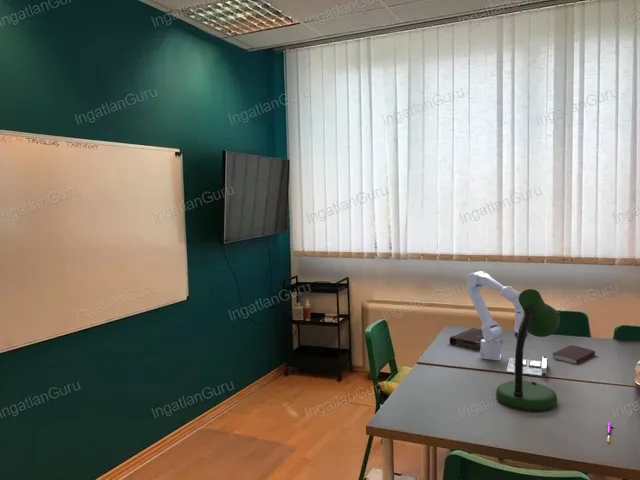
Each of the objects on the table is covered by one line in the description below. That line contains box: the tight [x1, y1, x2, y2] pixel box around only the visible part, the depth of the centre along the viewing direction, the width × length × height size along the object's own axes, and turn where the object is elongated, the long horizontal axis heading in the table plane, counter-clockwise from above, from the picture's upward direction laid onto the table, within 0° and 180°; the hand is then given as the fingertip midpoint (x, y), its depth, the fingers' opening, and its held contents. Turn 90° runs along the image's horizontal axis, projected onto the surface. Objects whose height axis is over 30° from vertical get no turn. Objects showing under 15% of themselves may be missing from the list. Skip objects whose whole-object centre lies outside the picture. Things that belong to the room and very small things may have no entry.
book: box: [551, 344, 596, 365], centre depth 256 cm, size 12×19×3 cm, turn 128°
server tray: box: [506, 357, 548, 378], centre depth 243 cm, size 17×20×2 cm
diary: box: [449, 327, 484, 351], centre depth 284 cm, size 19×25×5 cm
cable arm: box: [540, 355, 549, 373], centre depth 238 cm, size 17×3×3 cm, turn 156°
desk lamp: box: [495, 288, 561, 414], centre depth 207 cm, size 31×23×45 cm
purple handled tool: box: [606, 422, 613, 443], centre depth 177 cm, size 3×1×16 cm
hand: (520, 347), depth 247 cm, fingers closed
